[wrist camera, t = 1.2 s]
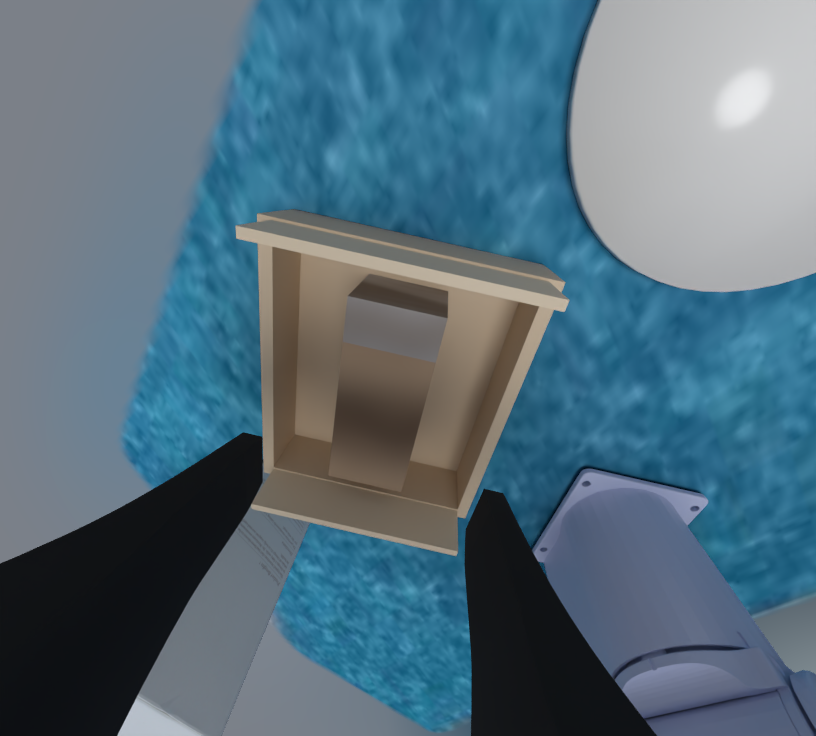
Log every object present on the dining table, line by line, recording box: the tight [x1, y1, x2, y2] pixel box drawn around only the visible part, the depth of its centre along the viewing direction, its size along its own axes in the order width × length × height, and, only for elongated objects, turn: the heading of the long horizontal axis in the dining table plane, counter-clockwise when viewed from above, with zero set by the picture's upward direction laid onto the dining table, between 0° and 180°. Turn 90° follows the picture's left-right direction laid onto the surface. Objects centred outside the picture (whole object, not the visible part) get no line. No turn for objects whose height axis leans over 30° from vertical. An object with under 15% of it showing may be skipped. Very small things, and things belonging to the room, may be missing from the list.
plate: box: [566, 0, 816, 292], centre depth 12 cm, size 15×15×1 cm
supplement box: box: [117, 464, 310, 736], centre depth 21 cm, size 7×7×13 cm
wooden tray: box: [236, 209, 569, 556], centre depth 17 cm, size 14×12×6 cm
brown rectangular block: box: [328, 274, 448, 492], centre depth 17 cm, size 10×4×4 cm, turn 169°
